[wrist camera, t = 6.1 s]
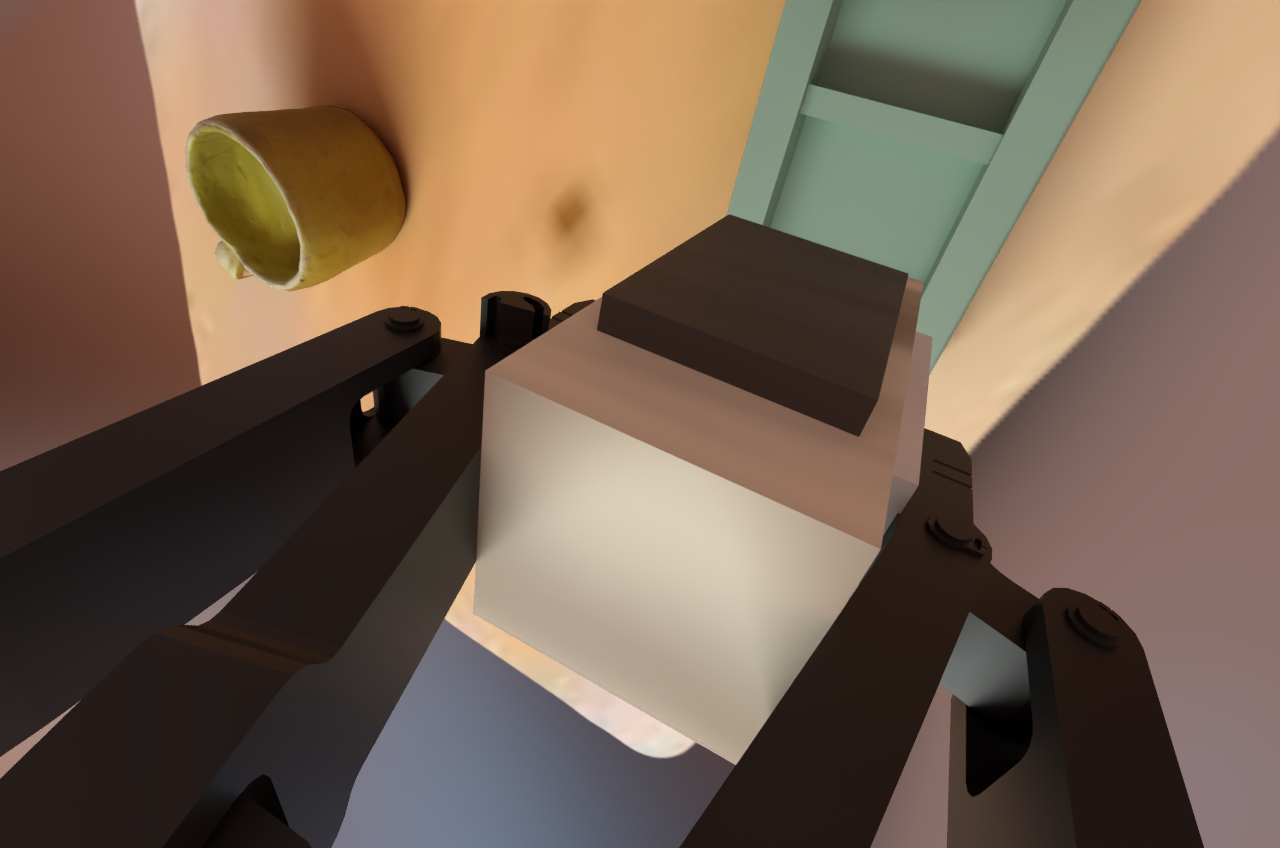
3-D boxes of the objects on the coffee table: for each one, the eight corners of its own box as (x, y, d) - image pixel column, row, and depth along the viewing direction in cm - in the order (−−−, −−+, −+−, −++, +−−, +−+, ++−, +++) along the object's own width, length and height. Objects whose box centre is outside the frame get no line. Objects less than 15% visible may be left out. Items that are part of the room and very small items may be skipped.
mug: (327, 30, 32) (168, 117, 26) (456, 198, 37) (345, 297, 32) (257, 118, 40) (126, 197, 35) (371, 245, 45) (272, 329, 40)
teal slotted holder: (974, -601, 16) (998, -1543, 7) (1474, -618, 13) (2686, -2232, 4) (718, 286, 31) (615, 380, 22) (928, 363, 28) (913, 507, 19)
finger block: (734, 193, 15) (486, 327, 7) (935, 257, 14) (907, 508, 6) (682, 379, 18) (473, 613, 10) (840, 445, 17) (740, 767, 9)
